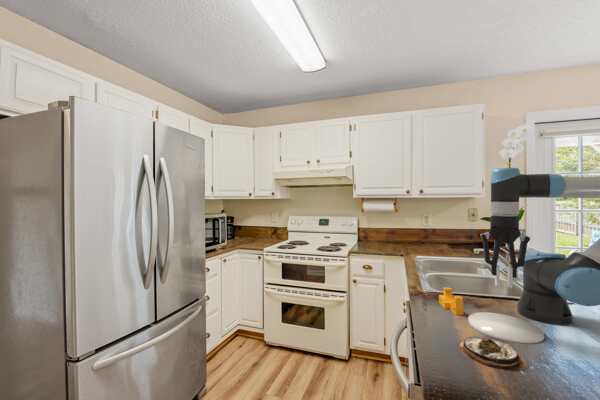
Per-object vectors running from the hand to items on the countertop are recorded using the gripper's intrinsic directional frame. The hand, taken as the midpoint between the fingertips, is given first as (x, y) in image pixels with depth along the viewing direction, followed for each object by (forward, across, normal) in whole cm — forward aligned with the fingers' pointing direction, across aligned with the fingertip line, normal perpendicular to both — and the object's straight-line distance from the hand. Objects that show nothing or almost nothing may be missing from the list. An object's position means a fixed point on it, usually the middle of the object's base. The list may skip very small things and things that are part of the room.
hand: (503, 286), depth 90 cm
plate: (+14, 0, 0) cm, 14 cm away
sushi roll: (+17, +1, +20) cm, 26 cm away
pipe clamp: (+15, +15, -11) cm, 24 cm away
